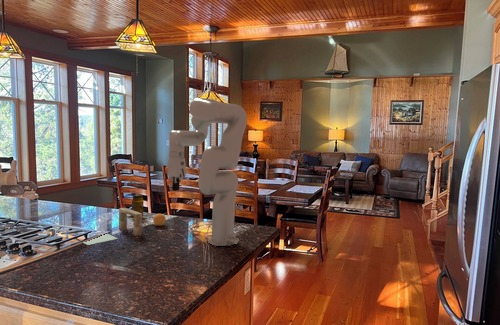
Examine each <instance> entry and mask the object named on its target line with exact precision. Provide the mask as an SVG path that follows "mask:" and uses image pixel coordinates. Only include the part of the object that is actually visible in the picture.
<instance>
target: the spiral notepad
mask: <svg viewBox="0 0 500 325" xmlns="http://www.w3.org/2000/svg"><path fill="white" fill-rule="evenodd" d="M118 239H119V238H118V237H115V236H113V235H112V234H109V233H107V234H105V235H102V236H100V237H98V238H95V239H92V240H90V241H87V242H83V244H84V245H86V246H91V245H95V244H100V243H107V242H109V241H110V242H111V241H115V240H118Z"/></svg>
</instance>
